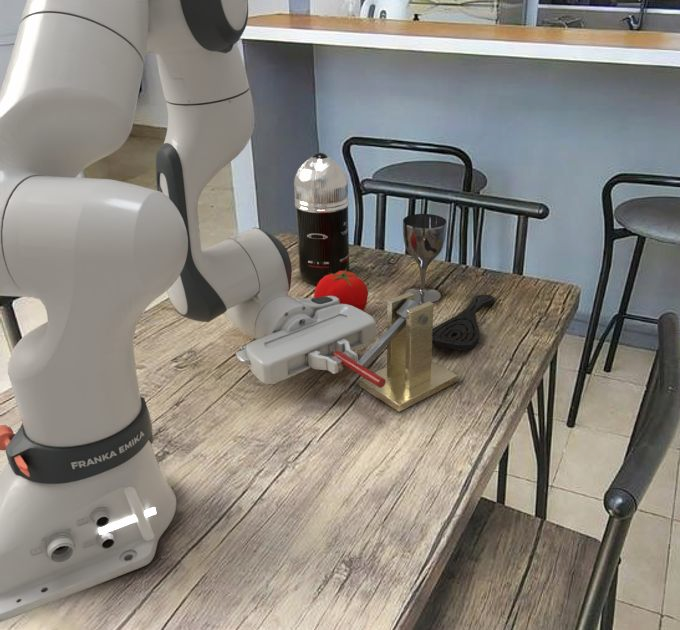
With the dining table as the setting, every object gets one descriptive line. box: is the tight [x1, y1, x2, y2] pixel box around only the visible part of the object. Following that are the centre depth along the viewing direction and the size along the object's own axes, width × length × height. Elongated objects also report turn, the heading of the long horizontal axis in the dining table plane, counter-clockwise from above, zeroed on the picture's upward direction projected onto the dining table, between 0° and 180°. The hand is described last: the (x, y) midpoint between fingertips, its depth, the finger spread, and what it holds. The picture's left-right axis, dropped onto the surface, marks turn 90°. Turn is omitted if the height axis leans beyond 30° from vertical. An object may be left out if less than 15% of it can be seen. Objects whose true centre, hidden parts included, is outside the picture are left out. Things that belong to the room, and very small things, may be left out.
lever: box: [333, 299, 420, 388], centre depth 96 cm, size 13×10×2 cm
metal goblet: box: [402, 213, 447, 305], centre depth 127 cm, size 8×8×15 cm
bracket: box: [358, 292, 459, 413], centre depth 100 cm, size 12×9×14 cm
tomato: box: [313, 270, 369, 312], centre depth 120 cm, size 9×10×8 cm
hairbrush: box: [432, 294, 495, 351], centre depth 119 cm, size 8×4×25 cm
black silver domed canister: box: [293, 152, 350, 286], centre depth 131 cm, size 10×10×25 cm
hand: (346, 364), depth 96 cm, fingers closed on lever
